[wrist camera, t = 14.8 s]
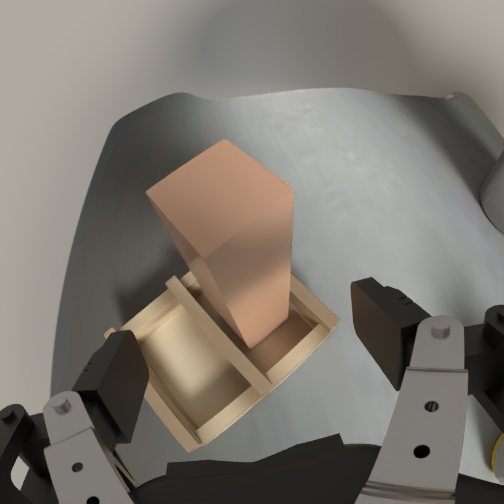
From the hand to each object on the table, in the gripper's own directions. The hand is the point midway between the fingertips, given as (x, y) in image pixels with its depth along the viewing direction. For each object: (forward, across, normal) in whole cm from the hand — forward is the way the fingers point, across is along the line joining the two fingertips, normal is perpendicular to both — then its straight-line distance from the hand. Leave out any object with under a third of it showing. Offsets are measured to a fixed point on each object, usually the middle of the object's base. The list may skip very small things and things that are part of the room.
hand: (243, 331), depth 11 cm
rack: (+13, +3, +9) cm, 16 cm away
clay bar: (+13, 0, +6) cm, 15 cm away
